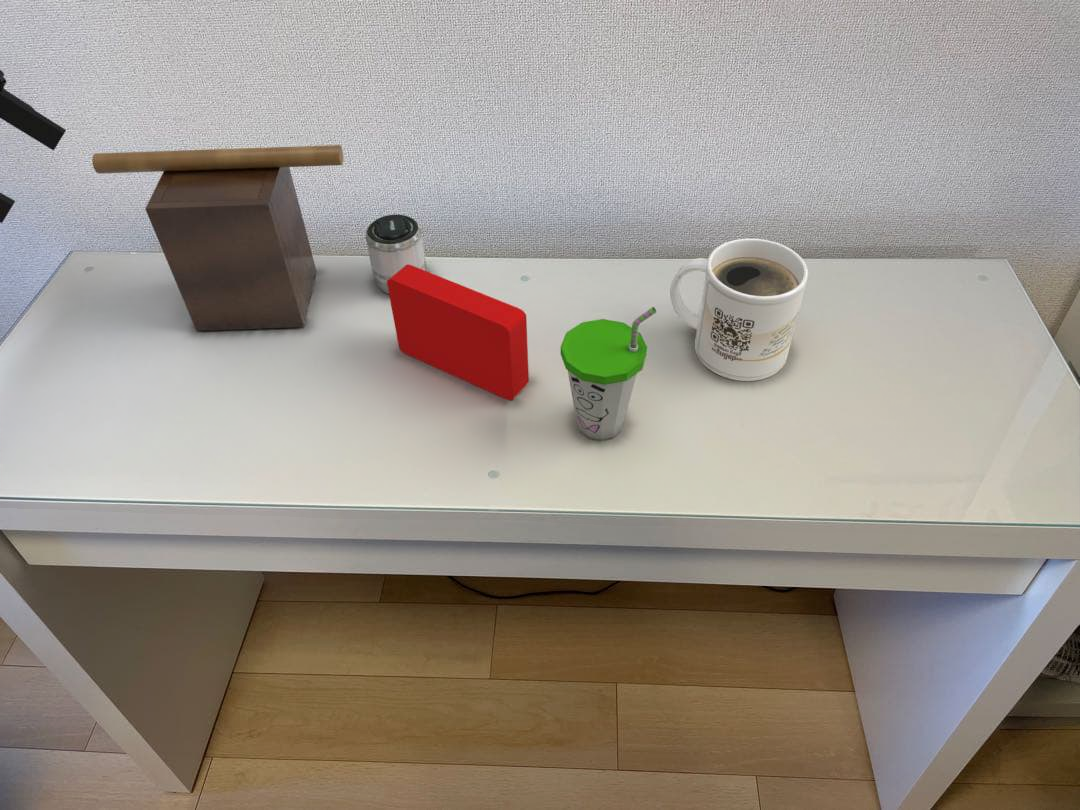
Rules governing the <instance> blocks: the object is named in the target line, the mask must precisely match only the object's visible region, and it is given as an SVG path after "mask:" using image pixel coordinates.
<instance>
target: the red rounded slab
mask: <svg viewBox="0 0 1080 810" xmlns="http://www.w3.org/2000/svg"><path fill="white" fill-rule="evenodd" d="M387 285H388V291H389V294H388V296H389V301H390V306H391V307H390V308H391V311H392V317H393V323H394V329H395V335H396V339H397V344H398V349H399V350H400V351H401V352H402V353H404V354H405V355H407V356H409V357H412V358H414V359H416V360H418V361H420V362H423V363H425V364H427V365H429V366H432V367H433V368H436V369H438V370H440V371H442V372H445V373H447V374H449V375H451V376H453V377H456V378H458V379H460V380H463V381H465V382H466V383H469V384H471V385H474V386H476V387H478V388H480V389H482V390H484V391H487V392H488V393H491V394H493V395H496V396H498V397H500V398H502V399H505V400H507V401H513V400H514V399H515V398H516V397H517V396H518V395H519V393H520V392H521V391H522V390H523V389H524V388H525V387H526V386H527V385H528V384H529V382H530V375H529V353H528V352H529V351H528V349H529V347H528V323H527V321H528V320H527V313H526V312H525V311H524V310H523V309H521V308H519V307H518V306H515V305H512V304H510V303H507V302H504V301H502V300H499V299H497V298H494V297H492V296H490V295H488V294H484V293H482V292H479V291H477V290H475V289H473V288H470V287H467V286H465V285H462V284H460V283H457V282H455V281H452V280H449V279H447V278H445V277H442V276H439V275H437V274H434V273H432V272H430V271H427V270H426V271H425V270H422V269H420V268H417V267H415V266H412V265H405V266H404V267H403V268H402V269H401V270H399V271H398V272H397V273H396V274H395V275H393V276H392V277H391V278H390V279H389V280H387Z"/></svg>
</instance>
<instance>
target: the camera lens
mask: <svg viewBox="0 0 1080 810" xmlns="http://www.w3.org/2000/svg"><path fill="white" fill-rule="evenodd" d="M422 232H423V231H422V227H421V225H420V224H419V223H418V221H416V220H415V219H414V218H412V217H410V216H408V215H405V214H404V215H403V214H388V215H387V214H386V215H384V216H381V217H379V218H377V219H375V220H374V221H372V222H371V223H370V224H369V225H368V227H367V228H366V231H365V236H364V237H365V241H366V246H367V251H368V255H369V260H370V266H371V271H372V274H373V277H374V279H375V282H376V283H377V286H378V289H380V290H381V291H382V292H383V293H385V294H387V295H389V291H388V285H387V280H389V279H390V278H391V277H392V276H393V275H395V274H396V273H397V272H398V271H399V270H401V269H402V268H403V267H404V266H405V265H412V266H415V267H417V268H420V269H422V270H425V271H427V261H426V254H425V248H424V247H425V246H424V239H423V233H422Z"/></svg>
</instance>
